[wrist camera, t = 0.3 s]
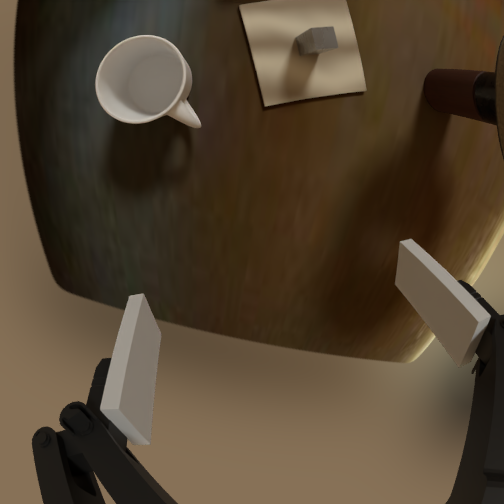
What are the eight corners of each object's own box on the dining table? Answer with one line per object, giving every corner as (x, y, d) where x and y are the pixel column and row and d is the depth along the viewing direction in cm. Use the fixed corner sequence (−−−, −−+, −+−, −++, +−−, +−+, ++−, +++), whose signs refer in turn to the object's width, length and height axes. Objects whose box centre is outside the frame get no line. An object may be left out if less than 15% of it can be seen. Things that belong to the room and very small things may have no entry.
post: (293, 38, 31) (310, 27, 25) (313, 36, 31) (333, 26, 25) (298, 56, 33) (316, 49, 27) (317, 54, 33) (338, 47, 27)
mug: (177, 147, 37) (165, 166, 27) (111, 88, 31) (78, 87, 22) (226, 100, 35) (232, 100, 25) (159, 38, 29) (141, 18, 20)
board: (238, 6, 29) (239, 5, 28) (342, -3, 29) (344, -4, 28) (264, 106, 35) (265, 106, 35) (364, 90, 35) (366, 90, 35)
